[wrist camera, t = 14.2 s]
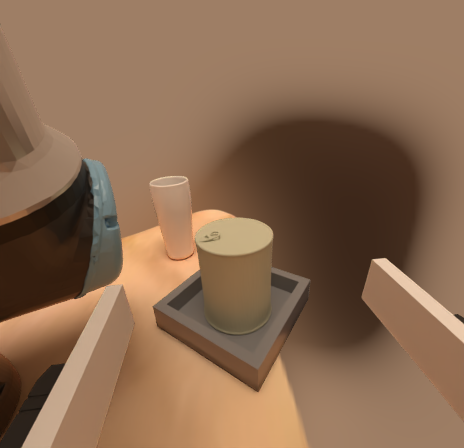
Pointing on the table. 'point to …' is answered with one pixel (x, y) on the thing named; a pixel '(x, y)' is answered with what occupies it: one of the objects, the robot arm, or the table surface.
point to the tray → (234, 346)
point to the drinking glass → (174, 214)
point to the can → (236, 274)
